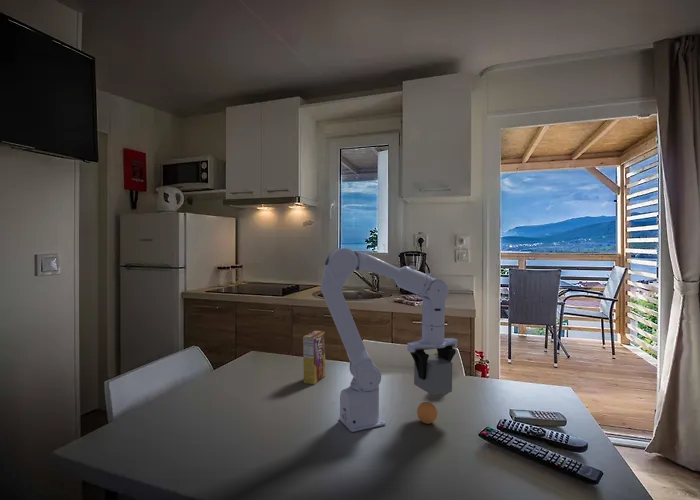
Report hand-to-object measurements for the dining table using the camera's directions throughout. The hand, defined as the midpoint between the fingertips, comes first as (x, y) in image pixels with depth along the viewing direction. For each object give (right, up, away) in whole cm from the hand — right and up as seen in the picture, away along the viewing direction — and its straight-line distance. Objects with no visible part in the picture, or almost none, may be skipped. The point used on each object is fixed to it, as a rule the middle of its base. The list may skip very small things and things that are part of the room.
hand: (432, 376), depth 99 cm
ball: (-2, -8, -4) cm, 9 cm away
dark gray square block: (0, -3, 0) cm, 3 cm away
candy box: (-33, -10, +27) cm, 44 cm away
